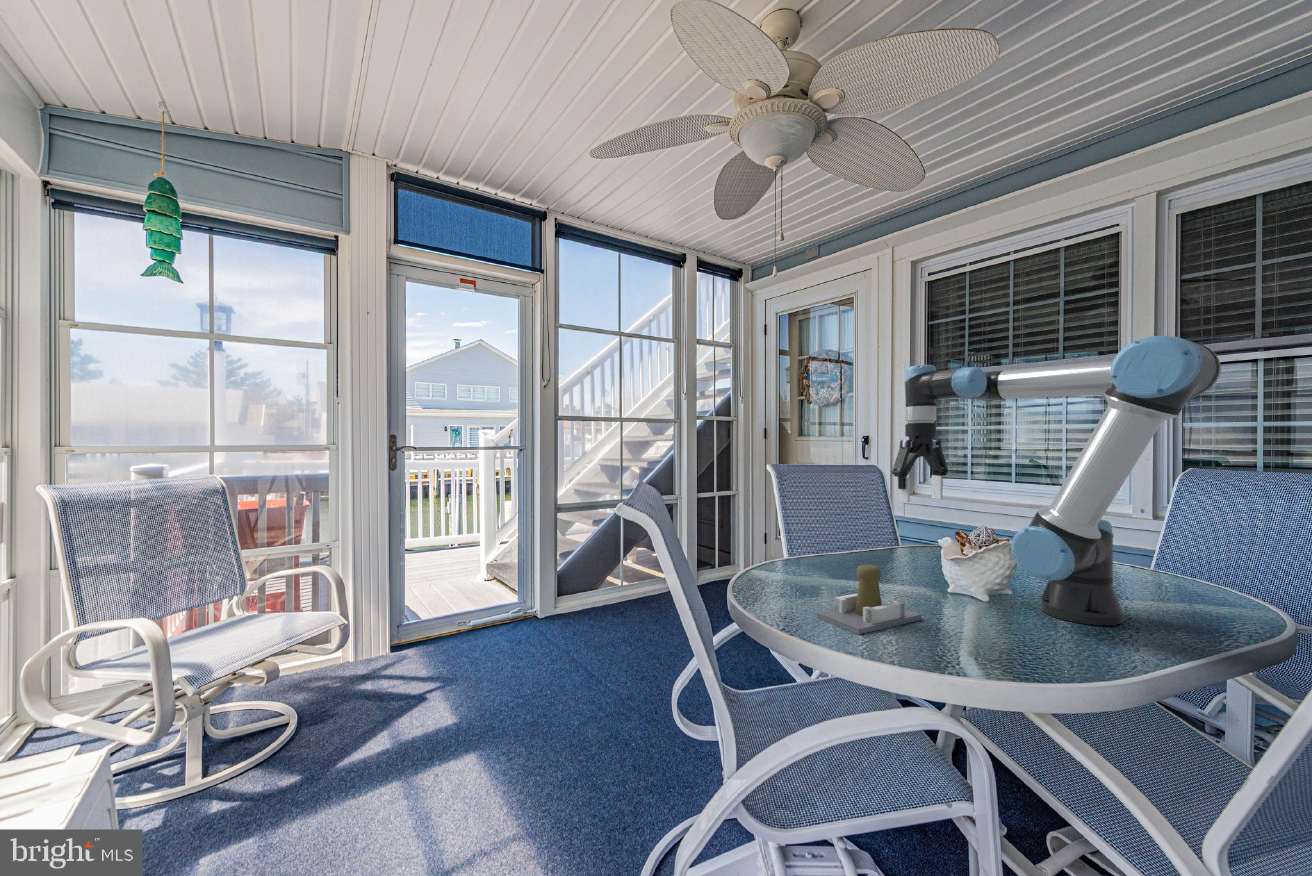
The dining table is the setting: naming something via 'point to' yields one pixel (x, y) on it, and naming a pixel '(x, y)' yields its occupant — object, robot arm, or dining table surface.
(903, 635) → the dining table surface
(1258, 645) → the dining table surface
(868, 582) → the cork
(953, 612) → the dining table surface
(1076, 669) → the dining table surface
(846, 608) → the base
